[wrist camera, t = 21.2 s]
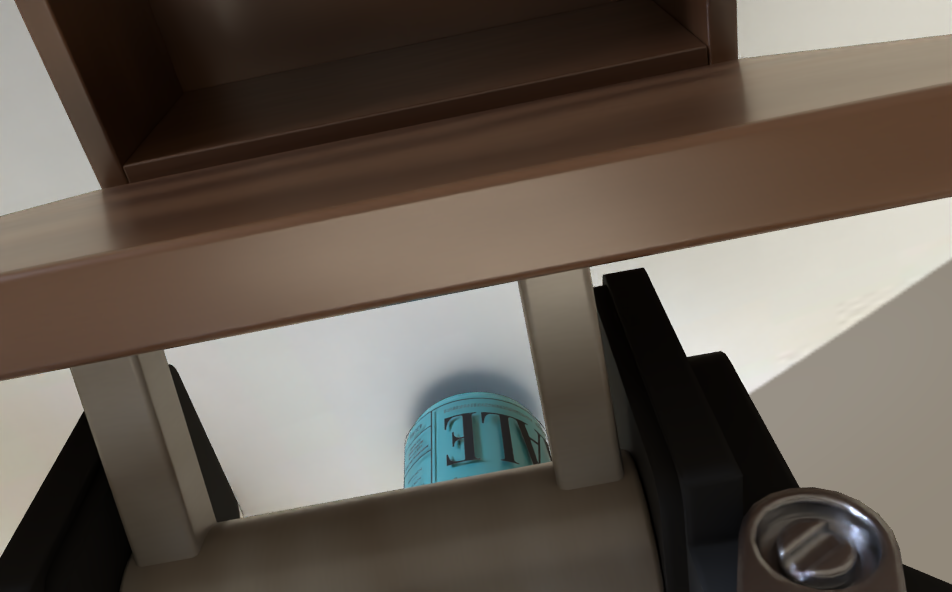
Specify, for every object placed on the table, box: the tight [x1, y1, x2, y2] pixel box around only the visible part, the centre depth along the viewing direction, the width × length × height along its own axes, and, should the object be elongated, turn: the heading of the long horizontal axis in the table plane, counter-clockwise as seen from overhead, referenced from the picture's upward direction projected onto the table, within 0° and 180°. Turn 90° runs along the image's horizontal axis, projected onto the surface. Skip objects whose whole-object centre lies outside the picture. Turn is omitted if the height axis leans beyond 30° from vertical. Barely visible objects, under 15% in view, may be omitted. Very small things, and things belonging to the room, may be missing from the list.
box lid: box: [0, 34, 952, 592], centre depth 14 cm, size 16×18×5 cm
